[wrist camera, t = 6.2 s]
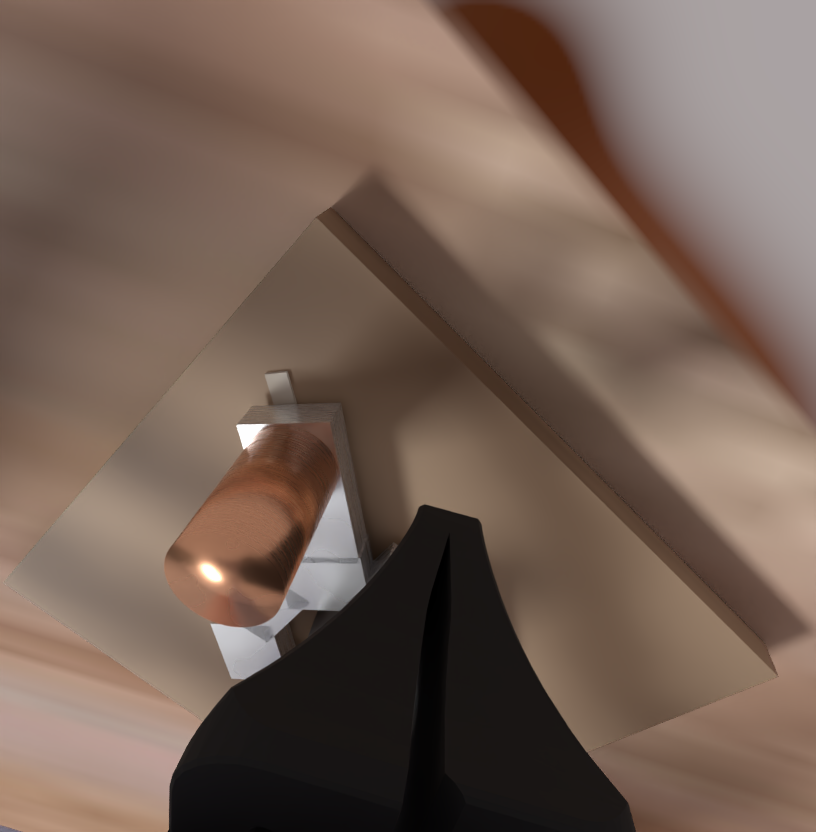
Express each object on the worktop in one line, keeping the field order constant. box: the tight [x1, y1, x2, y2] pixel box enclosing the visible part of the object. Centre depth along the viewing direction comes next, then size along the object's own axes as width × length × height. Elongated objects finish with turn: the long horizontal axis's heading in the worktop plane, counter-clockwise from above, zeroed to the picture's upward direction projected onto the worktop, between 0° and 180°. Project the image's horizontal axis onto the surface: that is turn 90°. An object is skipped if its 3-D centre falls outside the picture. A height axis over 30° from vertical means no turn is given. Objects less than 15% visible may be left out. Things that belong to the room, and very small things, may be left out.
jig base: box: [3, 208, 779, 752], centre depth 18 cm, size 18×18×6 cm
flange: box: [164, 403, 398, 679], centre depth 16 cm, size 12×8×5 cm, turn 7°
